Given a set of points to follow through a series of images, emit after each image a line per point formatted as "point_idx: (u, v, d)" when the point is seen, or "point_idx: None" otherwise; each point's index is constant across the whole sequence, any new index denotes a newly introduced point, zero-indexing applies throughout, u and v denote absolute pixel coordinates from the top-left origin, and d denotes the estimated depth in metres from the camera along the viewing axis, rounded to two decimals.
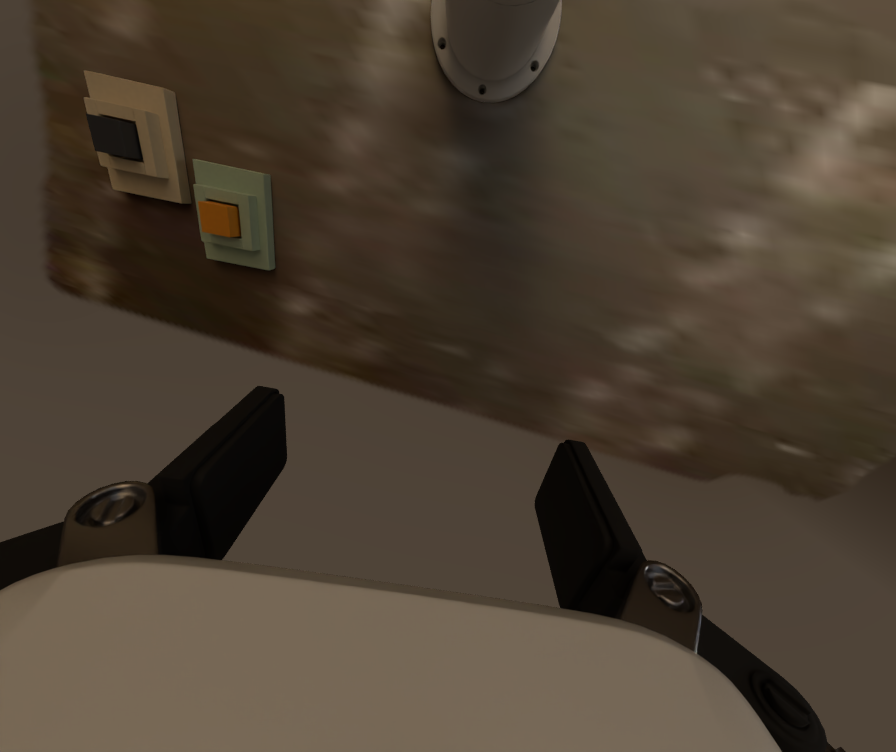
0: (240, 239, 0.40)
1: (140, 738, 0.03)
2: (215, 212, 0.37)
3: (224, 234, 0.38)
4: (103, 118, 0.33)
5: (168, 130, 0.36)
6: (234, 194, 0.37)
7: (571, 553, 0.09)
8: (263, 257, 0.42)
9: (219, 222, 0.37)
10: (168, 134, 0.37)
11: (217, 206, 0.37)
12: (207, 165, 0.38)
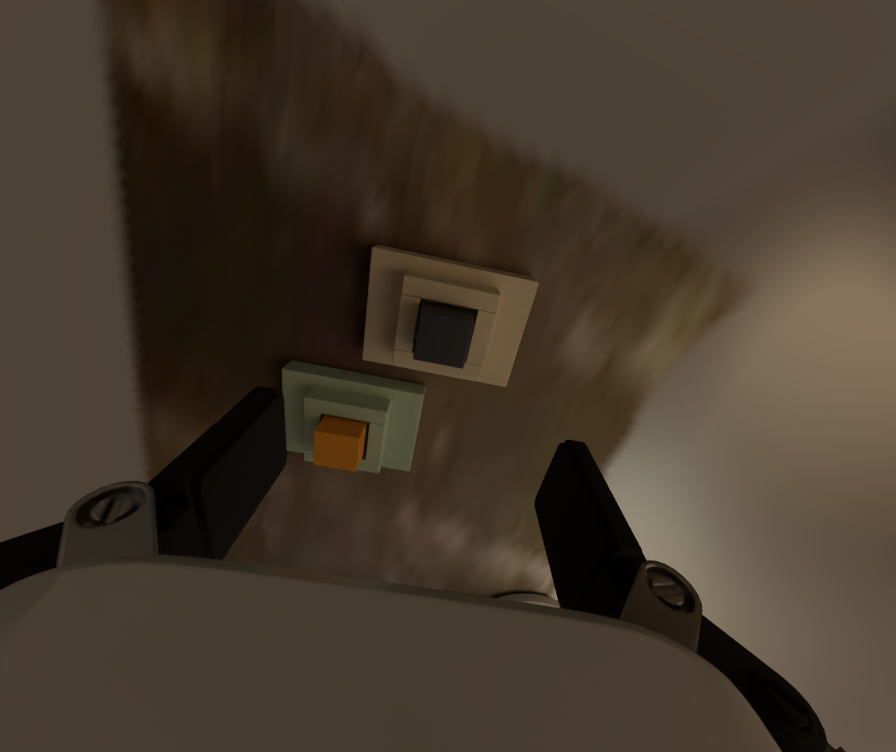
0: None
1: (140, 738, 0.03)
2: (346, 456, 0.24)
3: (316, 458, 0.24)
4: (466, 347, 0.20)
5: None
6: (378, 459, 0.26)
7: (571, 553, 0.09)
8: (302, 447, 0.28)
9: (333, 457, 0.24)
10: None
11: (355, 461, 0.24)
12: (416, 412, 0.26)
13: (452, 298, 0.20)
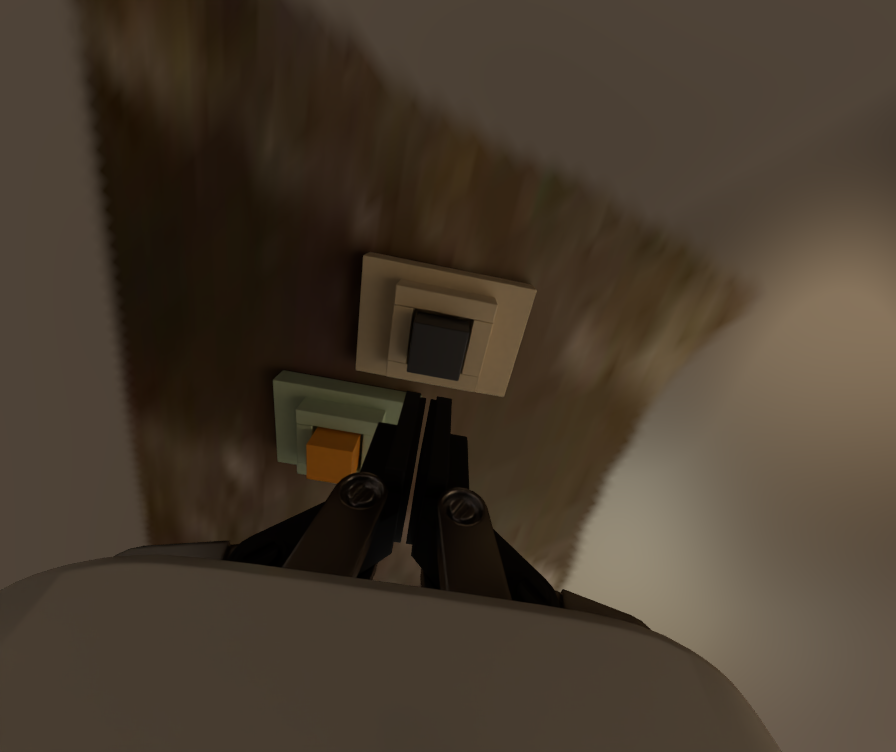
0: None
1: (140, 738, 0.03)
2: (339, 470, 0.23)
3: (309, 472, 0.24)
4: (461, 359, 0.19)
5: None
6: None
7: (415, 491, 0.10)
8: (295, 459, 0.28)
9: (326, 471, 0.23)
10: None
11: None
12: None
13: (446, 308, 0.20)
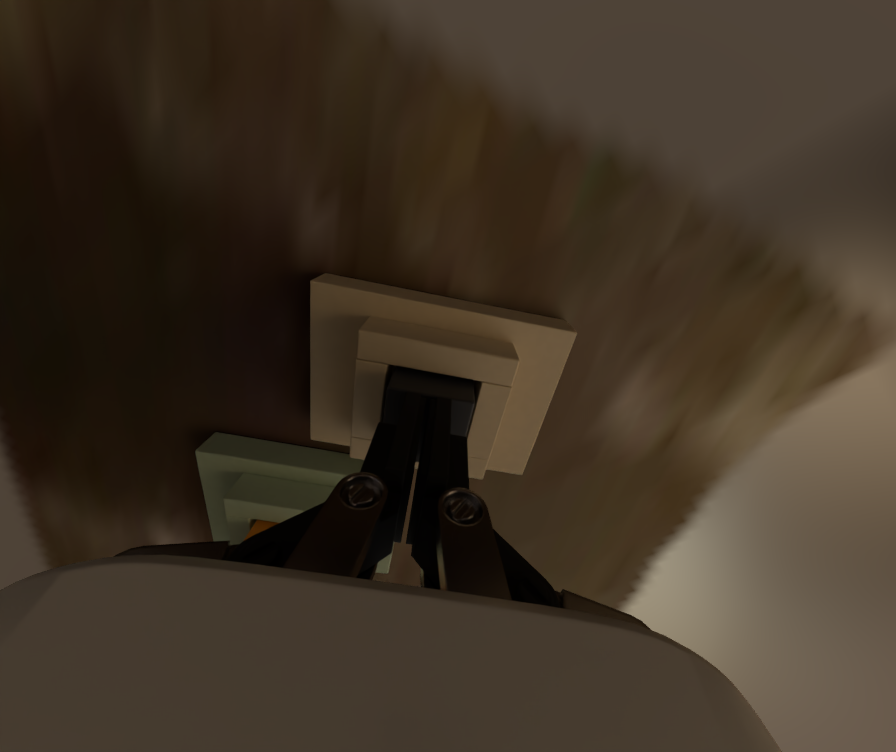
0: None
1: (140, 738, 0.03)
2: None
3: None
4: None
5: None
6: None
7: (415, 492, 0.10)
8: None
9: None
10: None
11: None
12: None
13: (439, 365, 0.12)
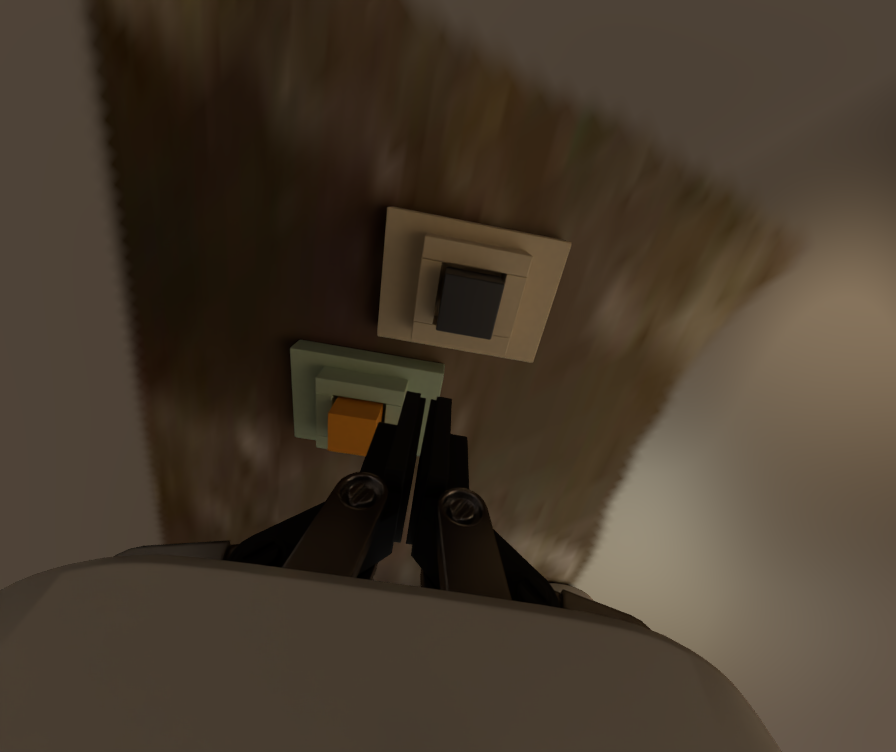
0: None
1: (140, 738, 0.03)
2: (362, 440, 0.22)
3: (330, 443, 0.23)
4: (495, 314, 0.18)
5: (481, 351, 0.23)
6: None
7: (415, 492, 0.10)
8: (313, 434, 0.27)
9: (348, 442, 0.22)
10: (476, 350, 0.23)
11: None
12: (435, 392, 0.24)
13: (477, 261, 0.18)
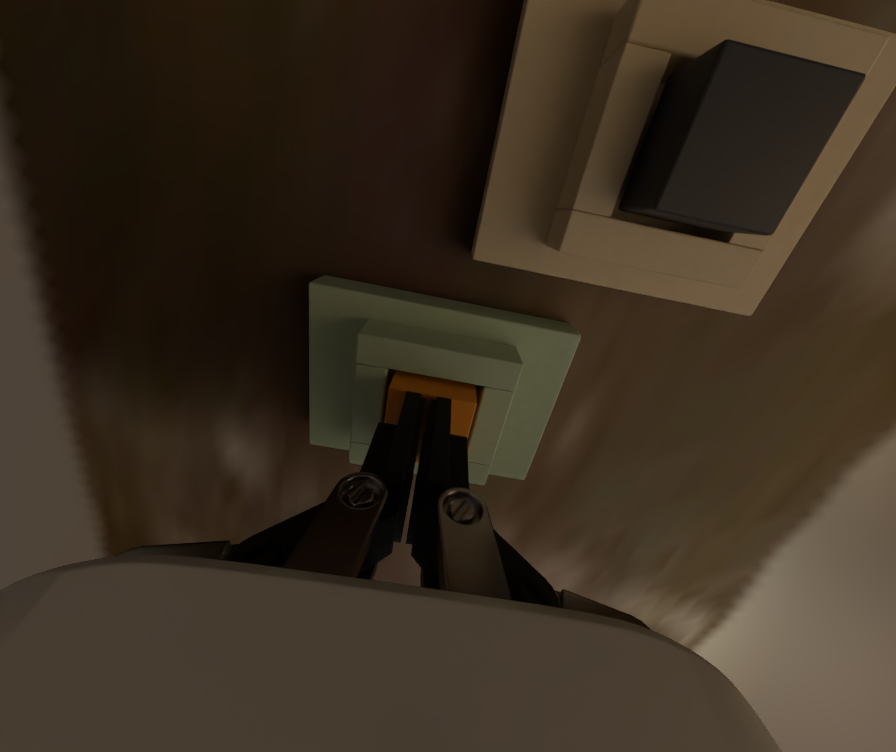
0: None
1: (140, 738, 0.03)
2: None
3: None
4: (809, 166, 0.08)
5: (661, 292, 0.12)
6: (489, 459, 0.14)
7: (415, 491, 0.10)
8: (340, 440, 0.16)
9: (420, 442, 0.13)
10: (652, 289, 0.12)
11: None
12: (560, 370, 0.14)
13: None
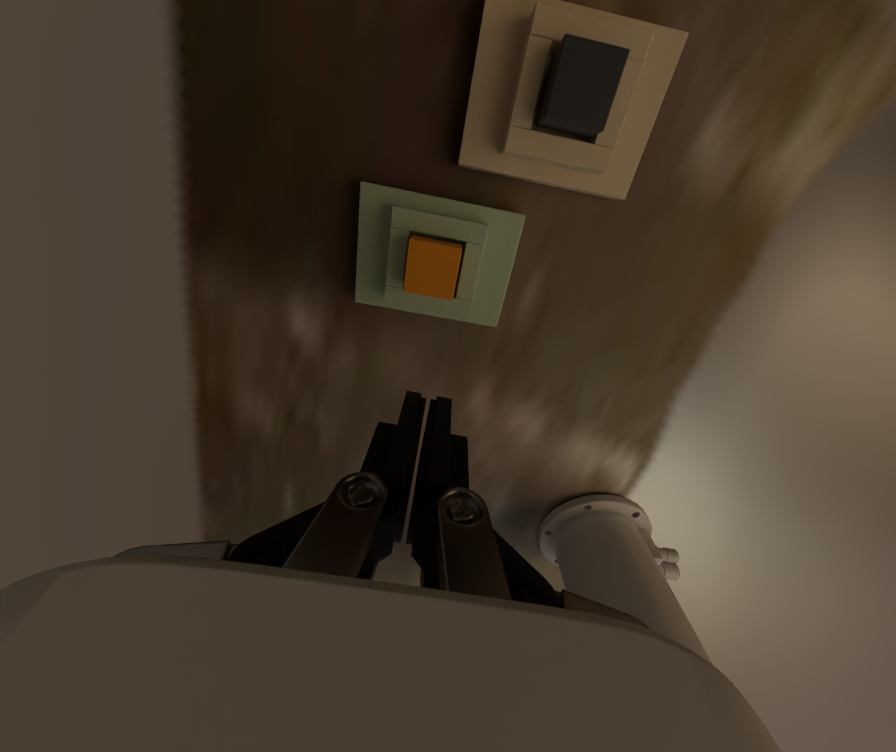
0: (401, 285, 0.22)
1: (140, 738, 0.03)
2: (443, 277, 0.20)
3: (407, 282, 0.21)
4: (613, 94, 0.16)
5: (570, 184, 0.21)
6: (471, 296, 0.23)
7: (415, 491, 0.10)
8: (375, 297, 0.25)
9: (427, 279, 0.21)
10: (565, 182, 0.21)
11: (453, 284, 0.21)
12: (514, 240, 0.23)
13: (592, 38, 0.16)
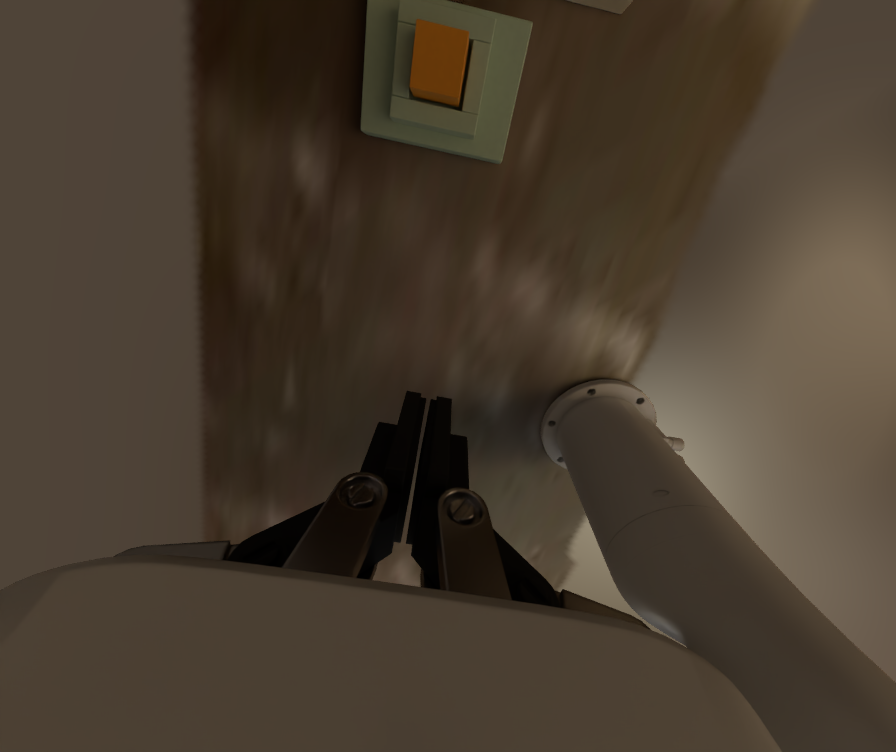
0: (407, 95, 0.22)
1: (140, 738, 0.03)
2: (449, 67, 0.20)
3: (414, 74, 0.21)
4: None
5: None
6: (477, 108, 0.23)
7: (415, 491, 0.10)
8: (381, 124, 0.25)
9: (434, 71, 0.20)
10: None
11: (459, 76, 0.21)
12: (521, 53, 0.23)
13: None
